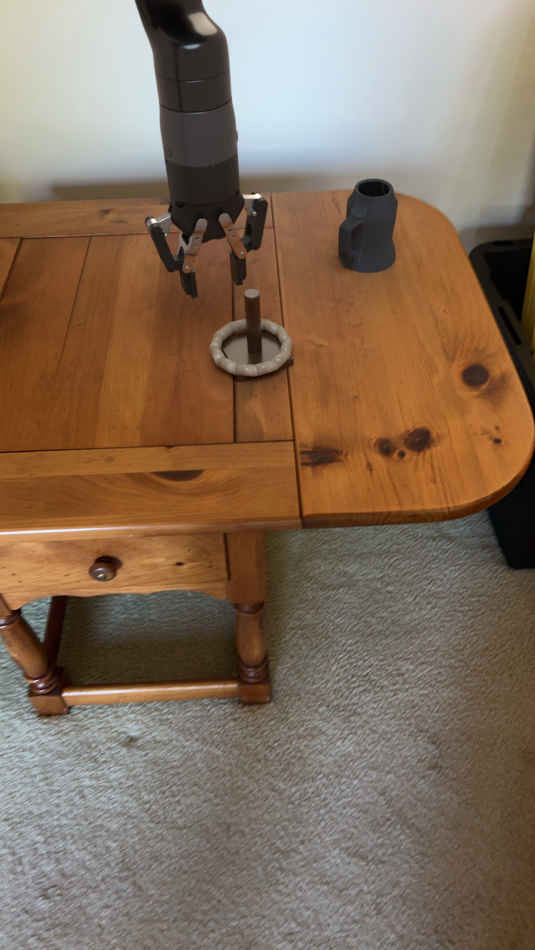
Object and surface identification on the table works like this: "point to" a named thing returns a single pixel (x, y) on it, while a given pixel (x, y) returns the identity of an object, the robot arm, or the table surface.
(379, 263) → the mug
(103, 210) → the table surface
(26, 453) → the table surface
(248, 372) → the ring
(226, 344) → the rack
